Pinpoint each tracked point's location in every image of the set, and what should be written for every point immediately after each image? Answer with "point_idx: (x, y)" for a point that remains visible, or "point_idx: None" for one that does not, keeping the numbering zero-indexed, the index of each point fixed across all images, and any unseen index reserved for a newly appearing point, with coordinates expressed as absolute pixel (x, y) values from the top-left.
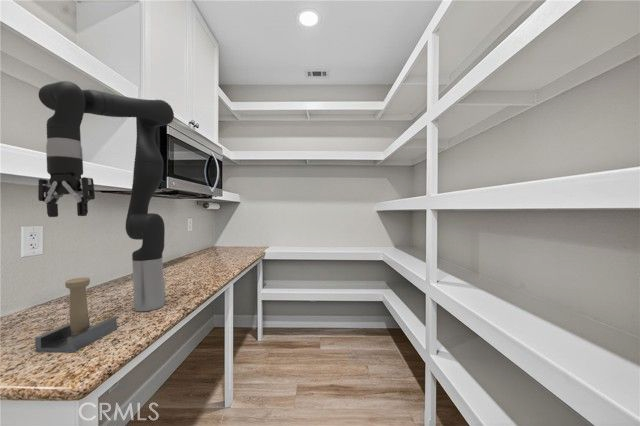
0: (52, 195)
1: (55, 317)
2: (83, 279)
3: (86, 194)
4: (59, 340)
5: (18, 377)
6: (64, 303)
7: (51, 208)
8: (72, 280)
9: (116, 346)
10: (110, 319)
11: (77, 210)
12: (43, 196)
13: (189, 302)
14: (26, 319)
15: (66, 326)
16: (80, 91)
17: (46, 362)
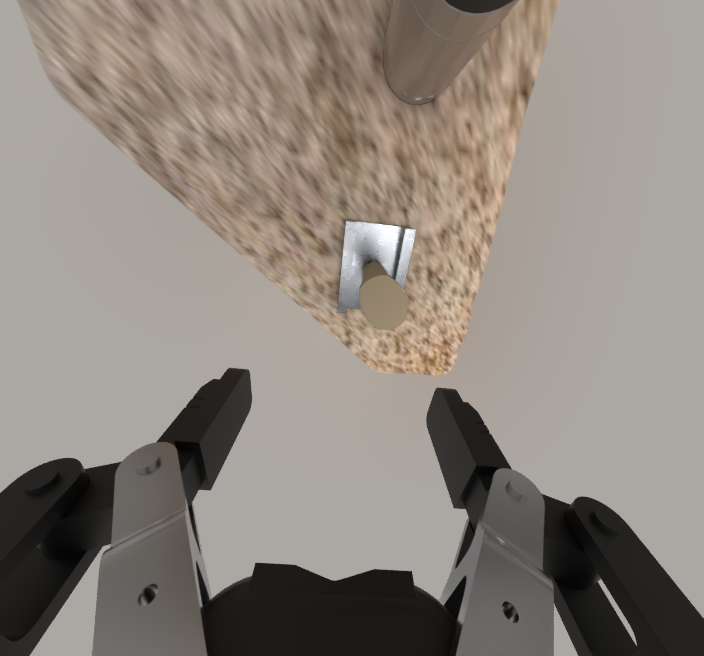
0: (208, 586)
1: (211, 125)
2: (393, 298)
3: (589, 602)
4: (352, 285)
5: (373, 359)
6: None
7: (229, 445)
8: (372, 305)
9: (444, 298)
10: (411, 243)
11: (435, 449)
12: (84, 565)
13: (535, 5)
14: (150, 133)
15: (349, 271)
16: None
17: (378, 332)
